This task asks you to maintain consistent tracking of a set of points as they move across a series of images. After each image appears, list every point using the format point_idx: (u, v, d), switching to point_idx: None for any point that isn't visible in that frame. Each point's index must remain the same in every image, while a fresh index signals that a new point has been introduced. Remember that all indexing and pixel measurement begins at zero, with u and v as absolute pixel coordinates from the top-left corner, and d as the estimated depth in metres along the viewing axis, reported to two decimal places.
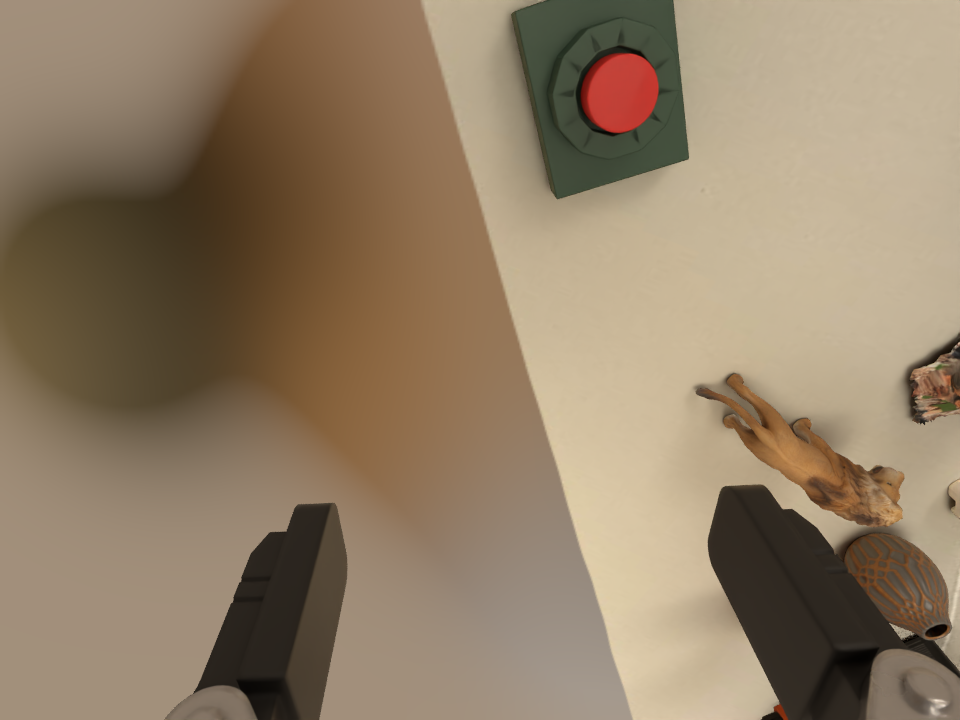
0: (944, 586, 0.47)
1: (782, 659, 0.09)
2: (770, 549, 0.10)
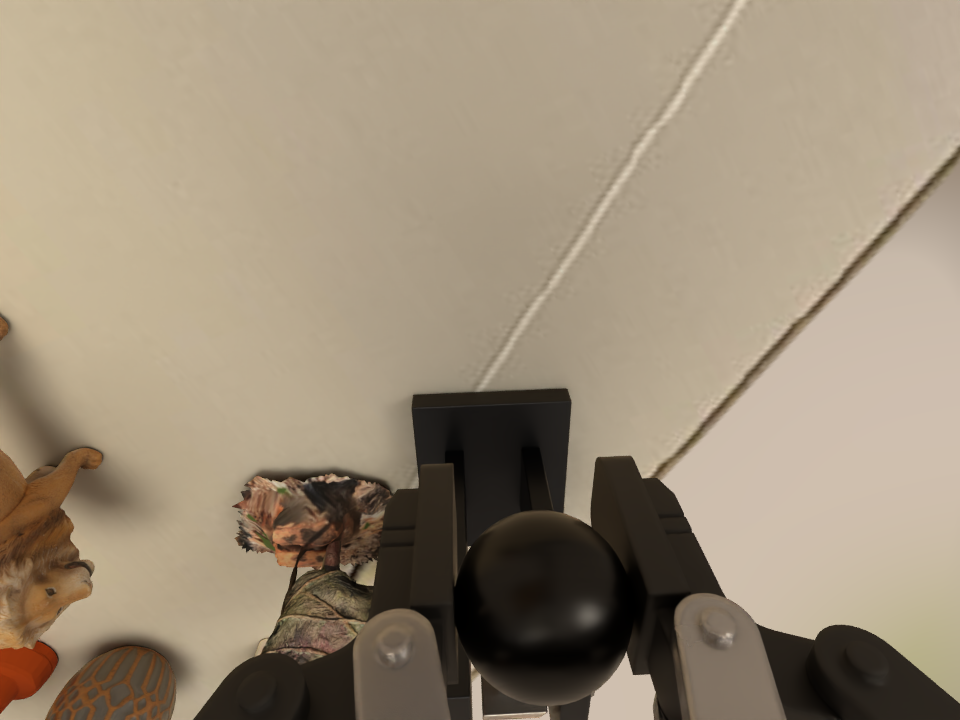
0: None
1: None
2: (619, 511, 0.10)
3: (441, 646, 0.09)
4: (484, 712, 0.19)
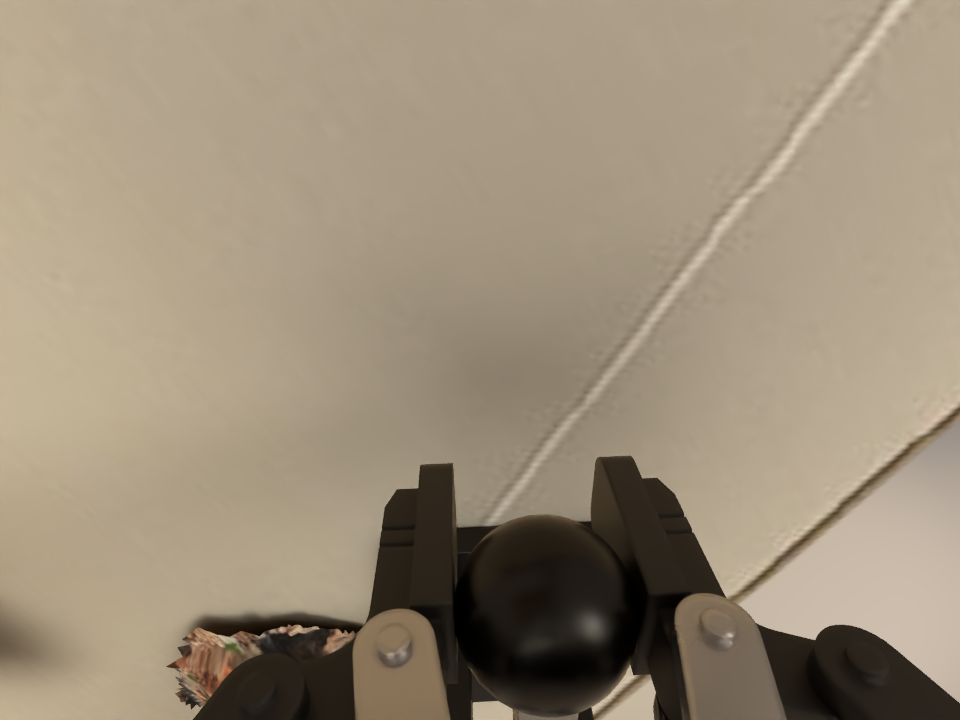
0: None
1: None
2: (619, 511, 0.10)
3: (441, 646, 0.09)
4: None
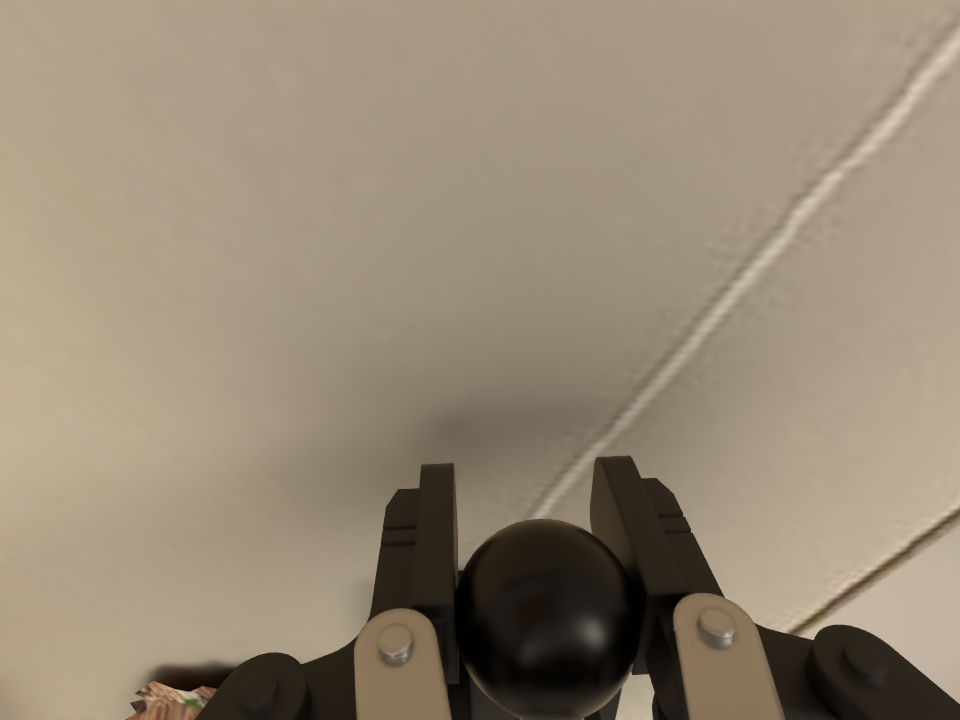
0: None
1: None
2: (618, 510, 0.10)
3: (442, 646, 0.09)
4: None
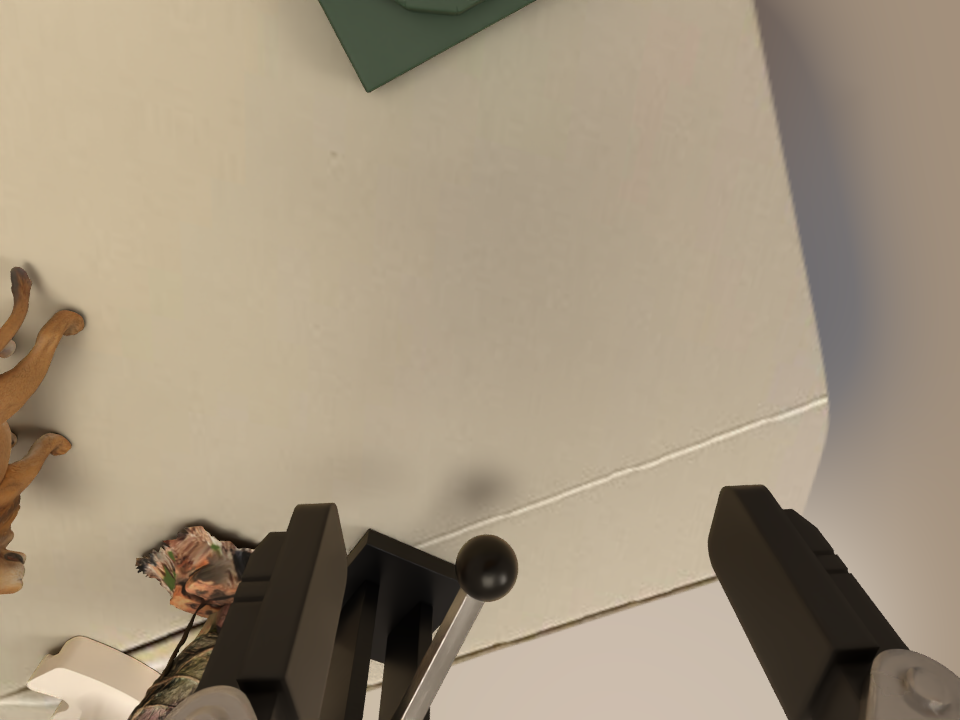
0: None
1: (782, 659, 0.09)
2: (770, 549, 0.10)
3: None
4: None
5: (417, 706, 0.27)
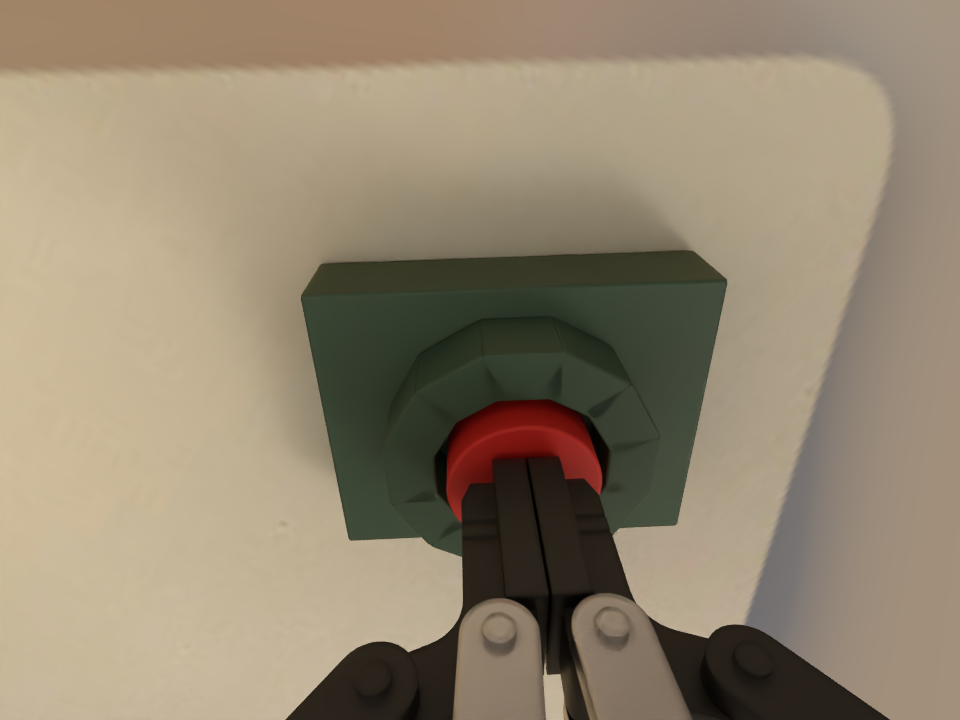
0: None
1: None
2: (537, 511, 0.10)
3: (539, 636, 0.09)
4: None
5: None
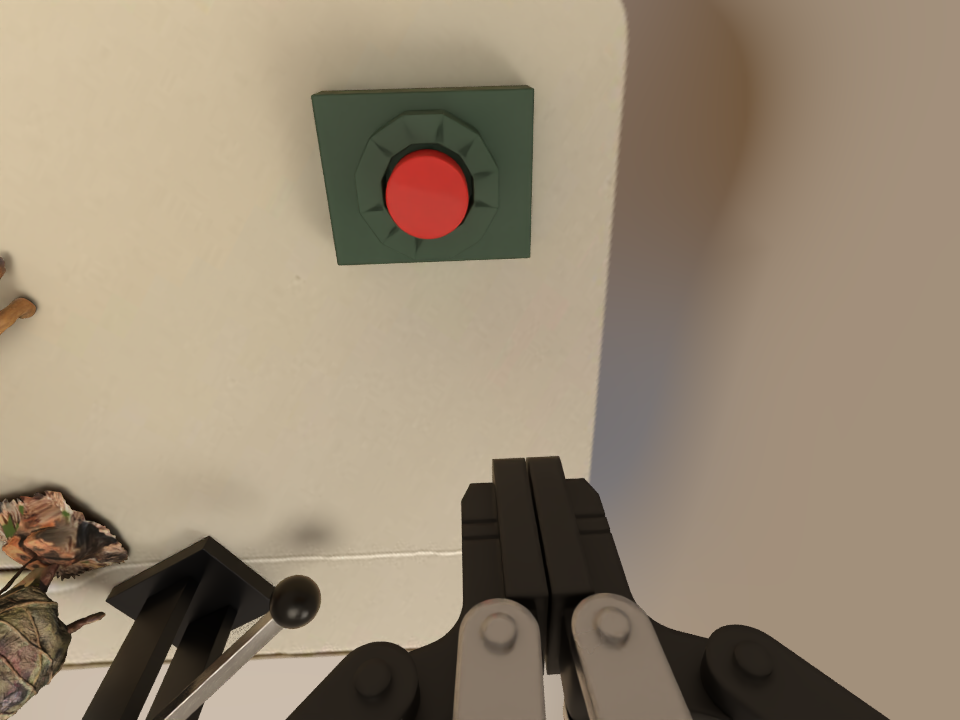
0: None
1: None
2: (537, 511, 0.10)
3: (539, 636, 0.09)
4: None
5: (200, 694, 0.34)
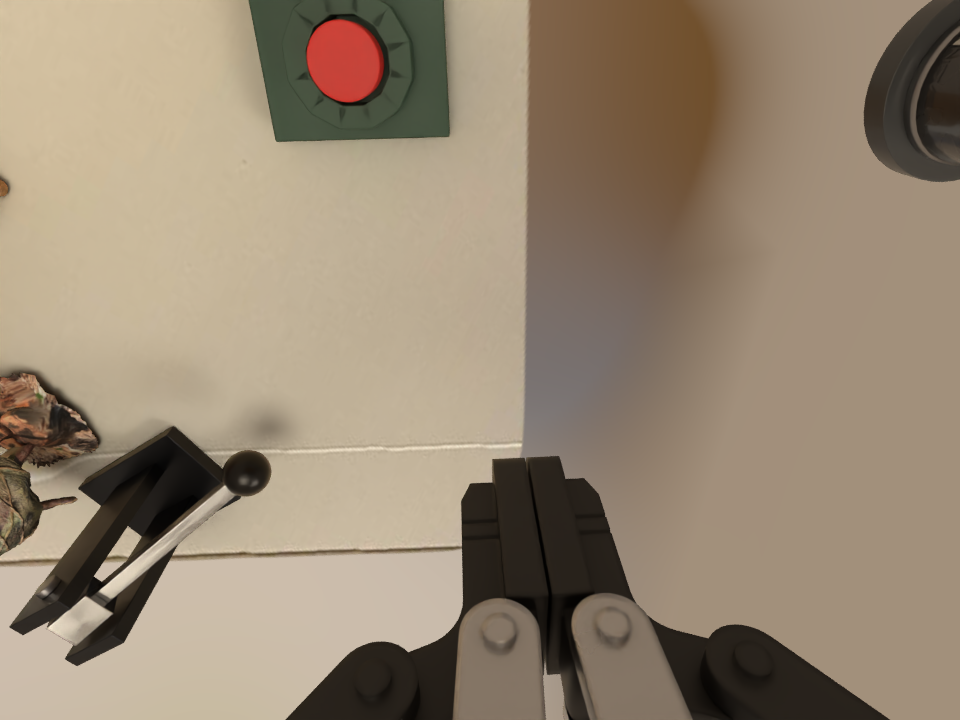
0: None
1: None
2: (537, 511, 0.10)
3: (539, 636, 0.09)
4: (86, 595, 0.35)
5: (157, 550, 0.37)
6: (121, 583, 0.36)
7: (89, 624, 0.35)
